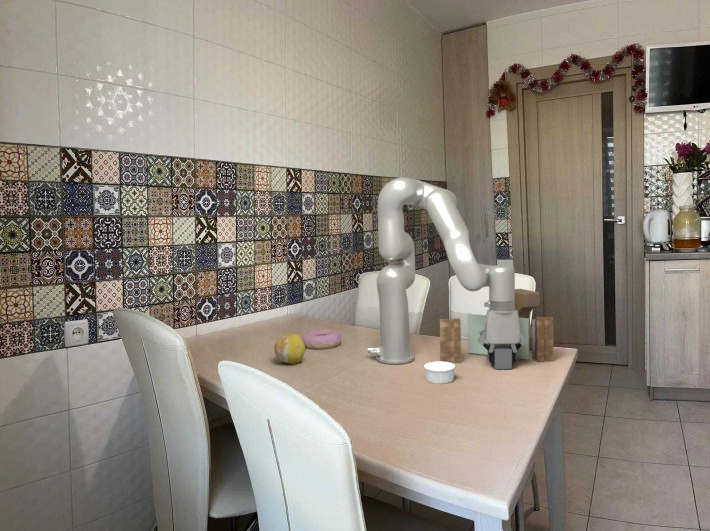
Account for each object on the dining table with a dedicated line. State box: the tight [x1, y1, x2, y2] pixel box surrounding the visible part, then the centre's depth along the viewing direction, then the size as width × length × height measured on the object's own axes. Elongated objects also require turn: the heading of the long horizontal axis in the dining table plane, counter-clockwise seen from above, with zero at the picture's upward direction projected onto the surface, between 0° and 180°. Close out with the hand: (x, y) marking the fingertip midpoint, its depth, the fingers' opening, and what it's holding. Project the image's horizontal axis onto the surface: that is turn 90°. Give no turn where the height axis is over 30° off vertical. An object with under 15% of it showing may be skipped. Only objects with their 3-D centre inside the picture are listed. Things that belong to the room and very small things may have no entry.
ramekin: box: [423, 360, 456, 385], centre depth 150 cm, size 9×9×4 cm
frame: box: [439, 316, 554, 364], centre depth 166 cm, size 35×2×14 cm, turn 85°
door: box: [467, 314, 536, 361], centre depth 170 cm, size 22×3×13 cm, turn 58°
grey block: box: [486, 342, 513, 370], centre depth 164 cm, size 5×13×6 cm, turn 176°
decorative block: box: [515, 288, 541, 352], centre depth 182 cm, size 11×6×20 cm, turn 17°
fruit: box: [274, 333, 306, 365], centre depth 173 cm, size 10×11×10 cm
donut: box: [300, 329, 342, 350], centre depth 196 cm, size 16×15×5 cm
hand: (502, 363), depth 160 cm, fingers closed on grey block, 5 cm apart
